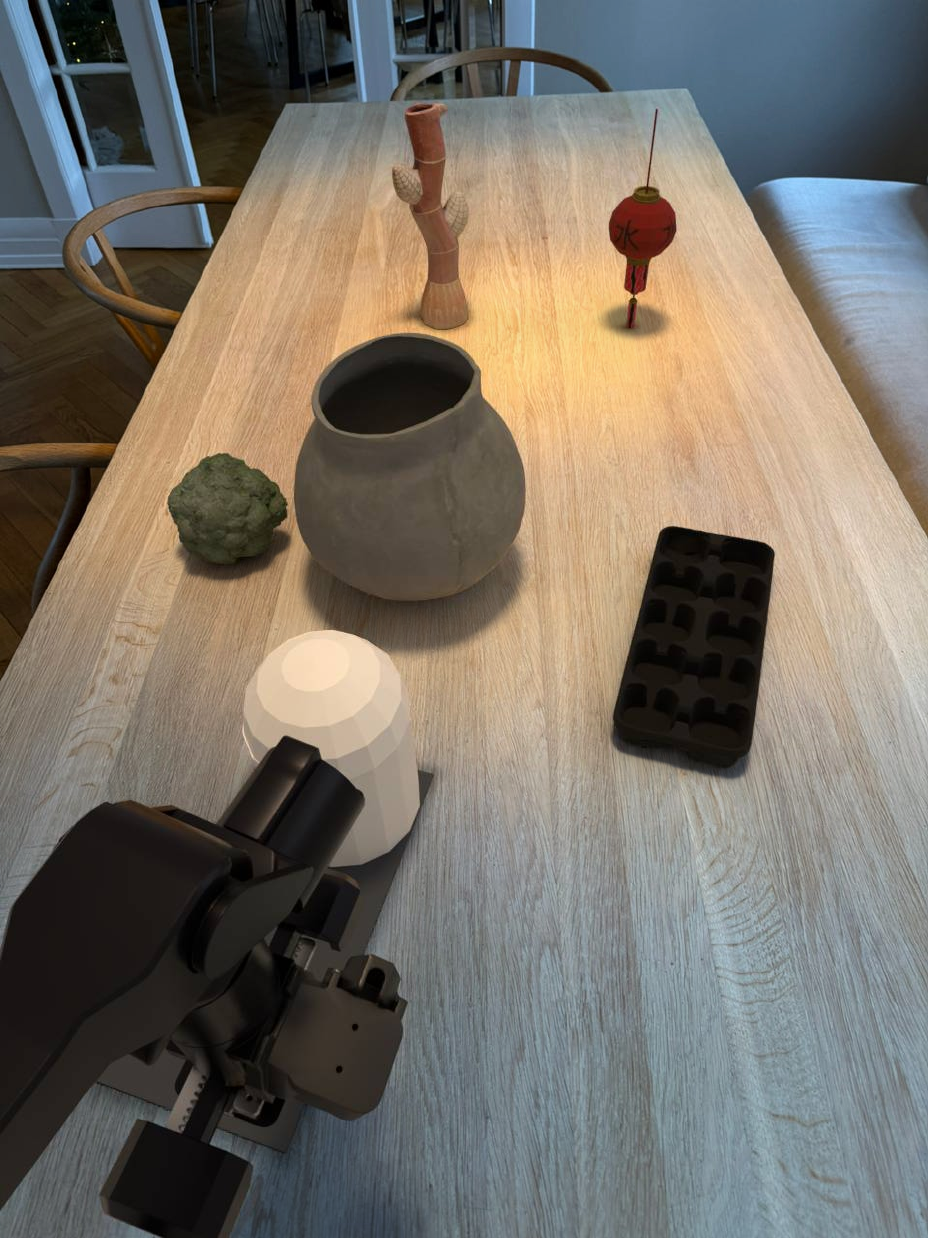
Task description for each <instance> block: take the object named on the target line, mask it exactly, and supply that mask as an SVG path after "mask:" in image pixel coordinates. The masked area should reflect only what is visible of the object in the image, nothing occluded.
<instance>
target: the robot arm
mask: <svg viewBox="0 0 928 1238" xmlns="http://www.w3.org/2000/svg"><path fill="white" fill-rule="evenodd" d="M364 806H365V798H364V794H363V793H362V791H360V790H359V789H356V787H355V786H354V785H353V784H352V783H351V782H350V781H349V780H348V778H347V777H345V776H344V775H343V774H342V773H341V772H340V771H338V770H337V769H336V768H334V767H333V766H332V765H330V764H329V763H327V762H326V761H324V760H322V758H321V754H320V751H319V748H317V747H315V746H312V745H310V744H307V743H305V742H302V741H300V740H297V739H295V738H292V737H290V736H287V735H285V736H283V737H282V738H281V740H280V741H279V743H278V744H277V745H276V747H272V748H271V749H270V750H269V751H268V752H267V753H266V754H265V756H264V757H263V759H262V760H261V761H260V763H259V764H258V766H257V767H256V768H255V769H254V770H253V771H252V772H251V774H250V776H249V777H247V779H246V781H245V782H244V784H243V785H242V787H241V788H240V790H238V792H237V793H236V795H235V797H233V799H232V801H231V802H230V804H229V805H228V806H227V808H226V809H225V810H224V812H223V813H222V815H221V816H220V817H219V819H218V820H217V822H216V823H214V822H212V821H209V820H207V819H205V818H203V817H201V816H198V815H196V814H194V813H192V812H189V811H187V810H185V809H182V808H180V807H177V806H176V805H173V804H167V805H159V806H152V807H150V806H148V805H146V804H143V803H141V802H138V801H135V800H132V799H128V800H122V801H116V802H114V803H112V802H110V801H103V802H102V803H100V804H98V805H96V806H95V807H94V808H92V809H90V810H88V811H87V812H86V813H85V814H84V815H83V816H81V818H79V819H78V820H77V821H76V822H75V823H74V824H73V825H71V827H70V828H68V830H66V831H65V832H64V834H63V835H61V836H60V838H59V839H58V841H57V843H56V845H55V846H54V848H53V849H52V850H51V853H50V854H49V855H48V856H47V858H46V859H45V860H44V862H43V863H41V865H40V867H39V868H38V869H37V871H36V872H35V873H34V874H33V876H32V877H31V879H30V880H28V882H27V884H26V885H25V887H23V888H22V890H21V891H20V893H19V894H18V895H17V897H16V898H15V899H14V901H13V902H12V904H11V906H10V908H9V911H8V915H7V918H6V923H5V928H4V932H3V937H2V939H1V945H0V1212H1V1211H2V1209H3V1208H5V1205H6V1204H7V1202H8V1201H9V1200H10V1199H11V1197H12V1196H13V1195H14V1193H15V1191H16V1190H17V1189H18V1188H19V1186H20V1185H21V1183H22V1182H23V1181H24V1179H25V1178H26V1176H27V1175H28V1173H29V1172H30V1171H31V1169H32V1168H33V1167H34V1166H35V1164H36V1163H37V1162H38V1160H39V1159H40V1157H41V1156H42V1154H43V1153H44V1152H45V1150H46V1149H47V1148H48V1146H49V1145H50V1143H51V1142H52V1141H53V1139H54V1138H55V1136H56V1135H57V1134H58V1132H59V1131H60V1129H61V1128H62V1127H63V1126H64V1124H65V1123H66V1121H67V1120H68V1119H69V1117H70V1116H71V1114H72V1113H73V1112H74V1111H75V1109H76V1108H77V1106H78V1105H79V1104H80V1102H81V1101H82V1100H83V1098H84V1097H85V1095H86V1094H87V1093H88V1091H89V1090H90V1089H91V1088H92V1086H93V1085H94V1084H96V1083H97V1082H96V1081H97V1079H98V1078H99V1077H100V1076H101V1075H102V1073H103V1072H104V1071H105V1070H106V1069H107V1067H108V1066H109V1065H110V1064H111V1063H113V1062H114V1061H116V1060H118V1059H120V1058H122V1057H124V1056H126V1055H128V1056H130V1057H132V1058H134V1059H136V1060H137V1061H139V1062H141V1063H143V1064H145V1065H147V1066H151V1065H152V1064H154V1063H155V1062H156V1061H157V1059H158V1058H159V1056H160V1055H161V1053H162V1052H163V1050H164V1048H165V1047H166V1048H165V1049H166V1050H167V1051H168V1052H169V1054H170V1055H173V1056H175V1057H178V1058H181V1059H184V1060H185V1062H184V1065H183V1067H182V1069H181V1071H180V1073H179V1075H178V1077H177V1079H176V1081H175V1091H176V1093H177V1095H178V1096H179V1097H178V1099H177V1101H176V1103H175V1105H174V1107H173V1109H172V1110H170V1111H171V1112H170V1114H169V1115H168V1118H167V1120H166V1122H165V1124H164V1126H163V1125H160V1124H158V1123H154V1122H153V1121H150V1120H146V1119H139V1118H136V1119H135V1122H134V1124H133V1126H132V1128H131V1130H130V1132H129V1133H128V1136H127V1137H126V1140H125V1142H124V1144H123V1145H122V1148H121V1150H120V1152H119V1154H118V1156H117V1158H116V1159H115V1162H114V1164H113V1166H112V1168H111V1170H110V1172H109V1174H108V1176H107V1178H106V1180H105V1181H104V1184H103V1186H102V1188H101V1190H100V1192H99V1194H98V1197H99V1201H100V1204H101V1207H102V1211H103V1214H104V1215H106V1216H108V1217H110V1218H112V1219H115V1220H116V1221H119V1222H121V1223H124V1224H126V1225H128V1226H131V1227H133V1228H136V1229H139V1230H141V1231H143V1232H145V1233H148V1234H151V1235H153V1236H155V1237H158V1238H230V1237H231V1234H232V1233H233V1230H234V1228H235V1225H236V1223H237V1220H238V1217H239V1215H240V1212H241V1209H242V1207H243V1205H244V1203H245V1200H246V1198H247V1195H248V1194H249V1193H248V1192H249V1190H250V1189H251V1184H252V1179H253V1172H254V1165H253V1164H252V1163H251V1162H250V1161H249V1160H246V1159H244V1158H243V1157H240V1156H239V1155H237V1154H235V1153H232V1152H230V1151H228V1150H226V1149H223V1148H221V1147H218V1146H215V1145H213V1144H211V1143H212V1140H213V1137H214V1135H215V1133H216V1131H217V1129H218V1127H217V1126H218V1124H219V1122H220V1120H221V1117H222V1115H223V1114H225V1115H228V1116H230V1117H233V1118H236V1119H238V1120H241V1121H244V1122H247V1123H249V1124H252V1125H255V1126H258V1127H270V1126H272V1125H273V1124H274V1123H275V1122H276V1121H277V1120H278V1118H279V1115H280V1113H281V1110H282V1108H283V1106H284V1103H285V1101H286V1100H289V1099H290V1098H292V1097H293V1098H295V1099H297V1100H299V1101H302V1102H304V1103H305V1105H306V1104H307V1105H308V1106H311V1107H314V1108H315V1109H318V1110H320V1111H323V1112H325V1113H327V1114H329V1115H331V1116H332V1117H335V1118H337V1119H339V1120H342V1121H344V1122H354V1121H357V1120H359V1119H361V1118H362V1117H364V1116H366V1115H368V1114H370V1113H372V1111H374V1110H375V1109H376V1108H378V1106H379V1105H380V1103H381V1101H382V1099H383V1097H384V1093H385V1090H386V1088H387V1085H388V1081H389V1080H390V1079H389V1078H390V1075H391V1072H392V1070H393V1066H394V1065H395V1064H394V1063H395V1061H396V1057H397V1054H398V1052H399V1050H400V1046H401V1044H402V1043H401V1042H402V1040H403V1038H404V1037H403V1036H404V1025H403V1019H404V1016H405V1013H406V1009H407V1007H408V1004H409V1002H408V1001H407V1000H406V999H405V998H404V997H401V996H400V995H399V993H398V990H399V986H400V983H401V980H402V977H401V975H400V973H399V971H398V969H397V967H396V965H395V964H394V963H393V962H391V961H389V960H387V959H384V958H383V957H380V956H378V955H376V954H373V953H372V954H363V955H357V956H352V957H350V958H349V960H348V961H347V962H346V965H345V967H344V970H338V969H335V968H328V969H327V971H326V974H325V976H324V978H323V981H322V982H320V981H317V980H316V978H315V976H314V973H313V972H310V971H307V968H308V966H309V964H310V961H311V959H312V957H313V954H314V952H315V950H316V946H317V945H316V943H315V941H314V940H312V939H309V938H301V937H302V935H306V936H309V937H312V938H315V939H318V940H322V941H325V942H328V943H329V944H330V947H331V949H332V950H335V951H339V952H342V951H343V949H344V948H345V947H346V946H347V945H348V943H349V941H350V938H351V936H352V933H353V931H354V929H355V926H356V924H357V921H358V919H359V916H360V914H361V911H362V909H363V906H364V900H363V897H362V893H361V890H360V888H359V886H358V884H357V882H356V881H355V880H354V879H352V878H351V877H350V876H348V875H347V874H344V873H341V872H338V871H334V870H331V869H327V868H328V866H329V864H330V863H331V861H332V859H333V858H334V856H335V854H336V853H337V851H338V849H339V848H340V846H341V844H342V843H343V841H344V839H345V838H346V836H347V834H348V833H349V831H350V829H351V828H352V826H353V824H354V823H355V821H356V819H357V818H358V816H359V814H360V813H361V811H362V809H363V808H364ZM276 926H277V930H276V932H275V934H274V936H273V938H272V940H271V943H270V945H269V947H268V946H267V944H266V942H265V940H264V937H266V936H267V935H268V934H269V933H270V932H271V931H272V930H273V929H274V928H275V927H276ZM299 941H300V942H301V943H303V944H298V943H299ZM296 948H298V949H299V950H300V951H295V950H296ZM293 955H295V956H296V957H297V958H292V957H293ZM166 1045H167V1046H166ZM192 1103H195V1106H194V1105H193V1104H192ZM189 1110H193V1111H192V1113H191V1114H190V1113H189ZM186 1119H187V1121H186ZM182 1128H183V1130H182Z"/></svg>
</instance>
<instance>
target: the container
mask: <svg viewBox="0 0 928 1238" xmlns="http://www.w3.org/2000/svg"><path fill="white" fill-rule="evenodd" d="M410 709H411V706H410V693H409V690H408V688H407V686H406V684H405V682H404V680H403V678H402V676H401V674H400V672H399V671H398V669H397V667H396V665H395V663H393V660H392V659H391V657H390V655H389V654H388V653H386V652H385V651H384V650H382V649H380V647H377V646H376V645H374V644H373V643H372V642H370V641H369V640H368V639H365V638H362V637H360V636H358V635H355V634H352V633H348V632H343V631H339V630H335V629H326V630H325V629H324V630H312V631H310V630H309V631H307V632H304V633H302V634H299V635H296V636H293V637H291V638H289V639H286V640H285V641H284V642H283V643H281V644H280V645H279V646H277V647H276V648H275V649H273V650H272V651H271V652H270V653H268V655H267V656H266V657H265V658H264V660H263V661H262V662H261V663H260V664H259V665H258V668H257V669H256V671H255V672H254V674H253V675H252V677H251V679H250V680H249V682H248V684H247V685H246V686H245V695H244V703H243V713H242V714H243V715H242V716H243V717H242V718H243V722H242V723H243V724H242V736H243V738H244V741H245V744H246V747H247V750H248V752H249V755H250V757H251V761H252V762H253V765H254V767H255V768H256V767H257V766H258V764H259V763H260V761H261V760H262V759H263V757H264V756H265V754H266V753H267V752H268V751H269V750H270V749H271V748H272V747H276V745H277V744H278V743H279V741H280V740H281V738H282V737H283V736H285V735H287V736H290V737H292V738H295V739H297V740H300V741H302V742H305V743H307V744H310V745H312V746H315V747H317V748H319V751H320V754H321V758H322V760H324V761H326V762H327V763H329V764H330V765H332V766H333V767H334V768H336V769H337V770H338V771H340V772H341V773H342V774H343V775H344V776H345V777H347V778H348V780H349V781H350V782H351V783H352V784H353V785H354V786H355V787H356V789H359V790H360V791H362V793H363V794H364V798H365V806H364V808H363V809H362V811H361V813H360V814H359V816H358V818H357V819H356V821H355V823H354V824H353V826H352V828H351V829H350V831H349V833H348V834H347V836H346V838H345V839H344V841H343V843H342V844H341V846H340V848H339V849H338V851H337V853H336V854H335V856H334V858H333V859H332V861H331V863H330V864H329V867H339V866H351V865H362V864H364V863H366V862H368V861H370V860H373V859H375V858H377V857H379V856H381V855H383V854H385V853H388V852H389V851H390V850H391V849H392V848H393V847H394V846H395V845H396V844H397V843H398V842H399V841H400V840H401V839H402V838H403V837H404V836H405V835H406V834H407V833H408V832H409V831H410V829H411V827H412V824H413V822H414V819H415V817H416V814H417V812H418V809H419V807H420V798H419V780H418V772H417V770H418V764H417V756H416V749H415V742H414V741H415V740H414V733H413V725H412V719H411V718H412V717H411V710H410Z"/></svg>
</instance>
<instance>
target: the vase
mask: <svg viewBox="0 0 928 1238" xmlns="http://www.w3.org/2000/svg"><path fill="white" fill-rule="evenodd" d="M447 112H448V108H447V106H446V105H445V104H444V103H437V102H434V103H418V102H417V103H415V104H413V105H410V106H409V107H408V108H406V110H405V112H404V120H405V125H406V127H407V131H408V136H409V140H410V144H411V147H412V153H413V166H412V167H410V166H408V165H406V164H403V163H395V164H394V165H393V167H392V170H391V178H392V186H393V189H394V191H395V194H396V197H398V199H400V201H401V202H404V203H407V204H409V210H410V213H411V215H412V218H413V220H414V222H415V224H416V226H417V228H418V230H419V231H420V234H421V236H422V238H423V240H424V243H425V246H426V251H427V278H426V282H425V285H424V288H423V292H422V296H421V300H420V317H421V319H422V321H423V323H424V324H425V326H428V327H430V328H432V329H436V330H449V329H454V328H455V329H456V328H458V327H460V326H462V325H464V324H465V323H466V321H467V320H468V319H469V308H468V302H467V296H466V294H465V290H464V287H463V284H462V282H461V278H460V272H459V269H460V268H459V258H460V244H459V239H458V238H459V237H460V236H461V235H462V233H463V232H464V231H465V229H466V226H467V224H468V221H469V207H468V203H467V199H466V197H465V195H464V193H462V192H461V191H453V193H452V194H450V196H448V198H447V200H446V201H445V202H444V205H443V204H442V192H443V191H442V190H443V182H444V177H445V175H444V174H445V167H446V160H447V153H446V145H445V139H444V136H443V131H442V126H441V122H440V120H441V117H443V116H444V115H445V114H447Z"/></svg>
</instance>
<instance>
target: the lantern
mask: <svg viewBox="0 0 928 1238" xmlns="http://www.w3.org/2000/svg"><path fill="white" fill-rule="evenodd" d="M658 111H659V109H658V108H655V112H654V120H653V128H652V138H651V144H650V145H651V146H650V155H649V160H648V161H649V162H648V170H647V179H646V185H642V186H637V187H636V188H635V189H634V191H633V193H632V194H631V195H629V196H627V197H624V198H623V199H622V200H621V201H620V202H619V203H618V204H617V205H616V207H615V208H614V209H613V210H612V211H611V214H610V216H609V221H608V236H609V241H610V243H611V244H612V245H613V247H614V248H615V249H616V251H617V252H618V253H619V254H620V255H622V256H624V257H625V258H626V266H625V274H624V282H623V288H624V291H626V292H628V293H629V294H630V295H632V297H631V298H630V299H629V300H628V306H627V307H628V308H627V317H626V323H625V324H626V325H625V326H626V328H627V329H630V330H632V329H634V328H635V322H636V314H637V308H638V299H637V298H636V296H637V295H639V294H640V293H642V292H645V291H646V289H647V285H648V284H647V282H648V277H649V267H650V263H651V260H652V259H654V258H655V257H659V256H660V255H661V254H663V253H664V251H665V250H667V248H669V247H670V246H671V245H672V243H673V241H674V238H675V237H676V234H677V228H678V227H677V215H676V212H675V209H674V207H672V205H671V203H670V202H669V201H668V200H667V199H666V198H664V197H662V196H661V194H660V190H659V189H658V187H655V186H651V185H649V184H650V176H651V169H652V159H653V151H654V145H655V144H654V143H655V137H656V136H655V135H656V127H657V120H658Z"/></svg>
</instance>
